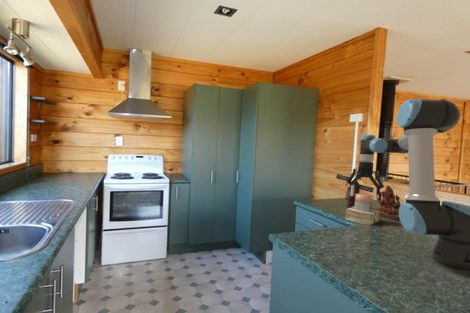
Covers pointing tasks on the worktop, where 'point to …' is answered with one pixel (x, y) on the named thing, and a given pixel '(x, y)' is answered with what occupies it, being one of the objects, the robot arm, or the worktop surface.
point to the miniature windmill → (356, 190)
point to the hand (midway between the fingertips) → (363, 197)
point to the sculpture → (389, 204)
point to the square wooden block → (362, 216)
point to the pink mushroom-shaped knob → (363, 198)
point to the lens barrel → (363, 206)
